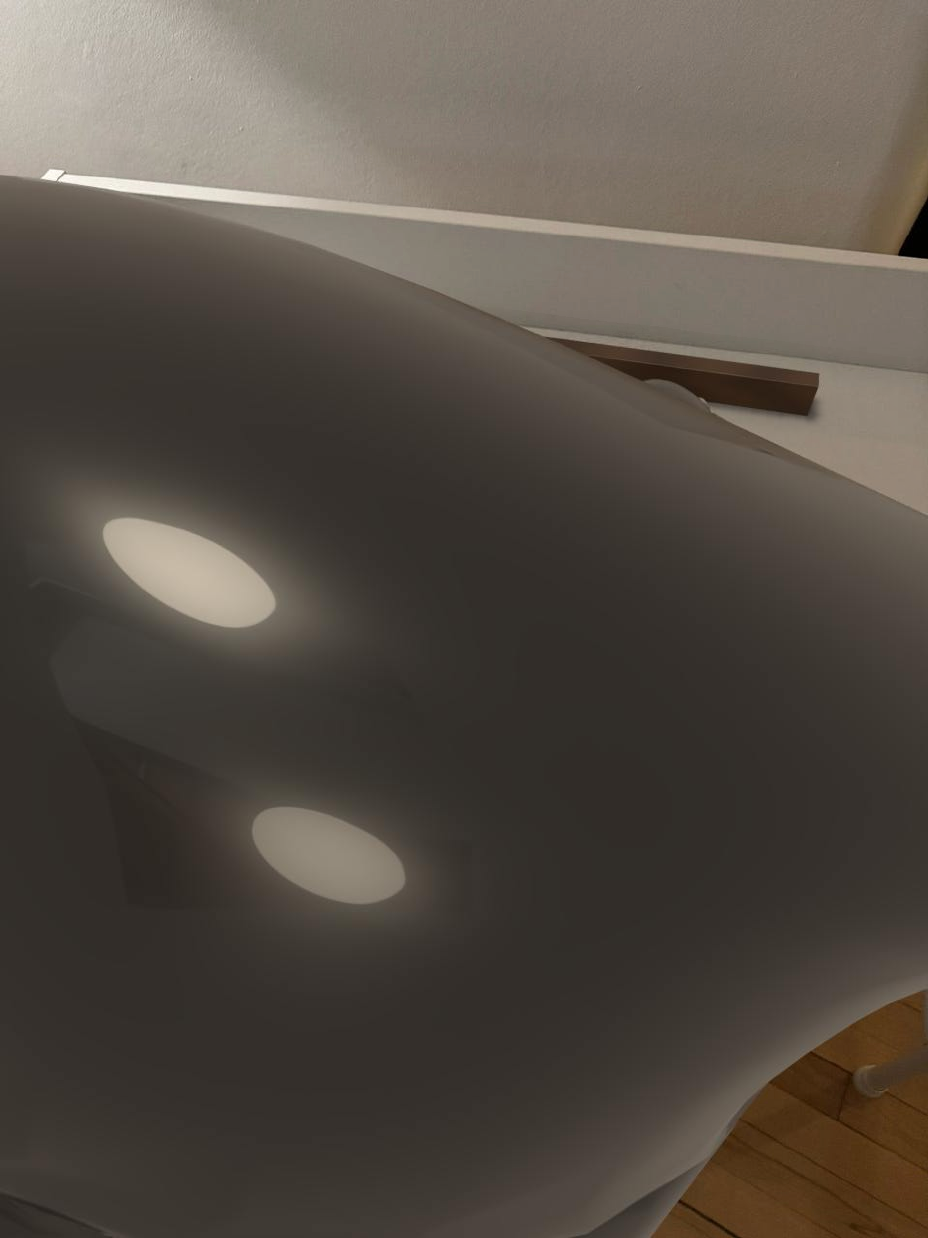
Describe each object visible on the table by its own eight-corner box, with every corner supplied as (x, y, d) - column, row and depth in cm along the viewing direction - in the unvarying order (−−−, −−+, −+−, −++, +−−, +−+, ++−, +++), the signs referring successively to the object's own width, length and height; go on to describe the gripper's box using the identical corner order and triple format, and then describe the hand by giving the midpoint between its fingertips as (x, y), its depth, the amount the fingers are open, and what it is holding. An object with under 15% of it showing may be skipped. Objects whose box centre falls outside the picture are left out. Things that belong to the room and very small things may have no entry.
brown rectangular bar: (808, 401, 81) (819, 373, 78) (807, 415, 80) (818, 386, 77) (529, 362, 87) (529, 334, 84) (524, 374, 86) (525, 346, 83)
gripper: (548, 519, 56) (603, 519, 72) (742, 589, 52) (754, 573, 68) (587, 409, 54) (634, 434, 70) (790, 473, 50) (790, 484, 66)
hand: (693, 502), depth 69 cm, fingers closed
